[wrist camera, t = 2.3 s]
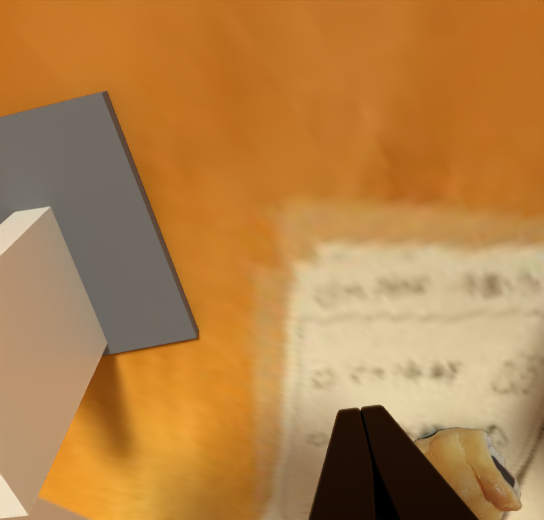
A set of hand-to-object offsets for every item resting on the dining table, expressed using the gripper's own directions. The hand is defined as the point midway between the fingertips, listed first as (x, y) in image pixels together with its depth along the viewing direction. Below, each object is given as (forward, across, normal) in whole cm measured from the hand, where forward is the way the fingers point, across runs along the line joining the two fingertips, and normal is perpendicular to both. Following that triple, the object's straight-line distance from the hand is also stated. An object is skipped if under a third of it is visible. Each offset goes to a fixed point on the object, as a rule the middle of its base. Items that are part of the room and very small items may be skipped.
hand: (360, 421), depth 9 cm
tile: (+12, +12, +3) cm, 17 cm away
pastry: (+13, -6, +20) cm, 25 cm away
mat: (+13, +14, +1) cm, 19 cm away
